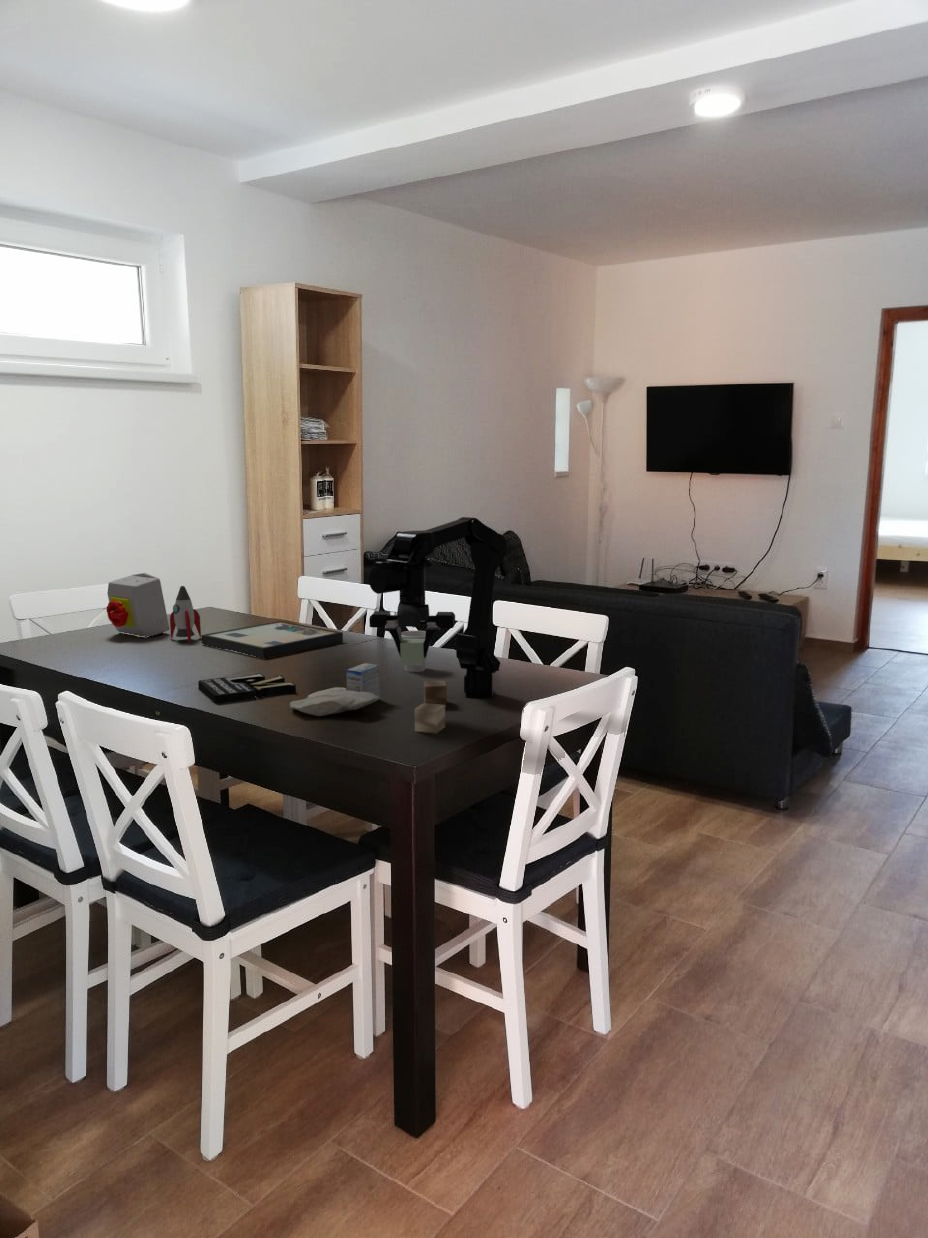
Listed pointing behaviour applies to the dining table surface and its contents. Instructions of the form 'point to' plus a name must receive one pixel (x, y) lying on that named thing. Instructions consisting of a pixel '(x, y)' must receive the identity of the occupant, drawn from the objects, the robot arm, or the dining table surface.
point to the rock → (333, 701)
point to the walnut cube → (435, 692)
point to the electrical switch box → (137, 605)
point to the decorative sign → (244, 688)
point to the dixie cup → (414, 636)
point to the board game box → (273, 639)
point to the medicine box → (364, 679)
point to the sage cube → (412, 652)
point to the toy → (184, 616)
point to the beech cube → (429, 718)
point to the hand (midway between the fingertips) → (413, 657)
